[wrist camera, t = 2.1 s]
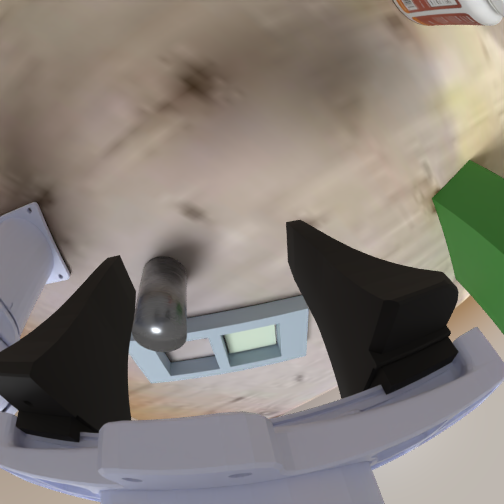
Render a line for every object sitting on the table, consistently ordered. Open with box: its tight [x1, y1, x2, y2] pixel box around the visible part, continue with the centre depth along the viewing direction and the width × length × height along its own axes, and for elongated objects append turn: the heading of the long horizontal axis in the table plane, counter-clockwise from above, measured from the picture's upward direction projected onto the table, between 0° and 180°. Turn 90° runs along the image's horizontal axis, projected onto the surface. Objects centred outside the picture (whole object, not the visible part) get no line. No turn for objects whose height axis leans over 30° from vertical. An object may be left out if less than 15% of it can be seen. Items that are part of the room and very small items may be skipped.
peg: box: [132, 257, 187, 352], centre depth 21 cm, size 4×4×7 cm
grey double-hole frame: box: [129, 295, 308, 383], centre depth 29 cm, size 19×8×2 cm, turn 96°
